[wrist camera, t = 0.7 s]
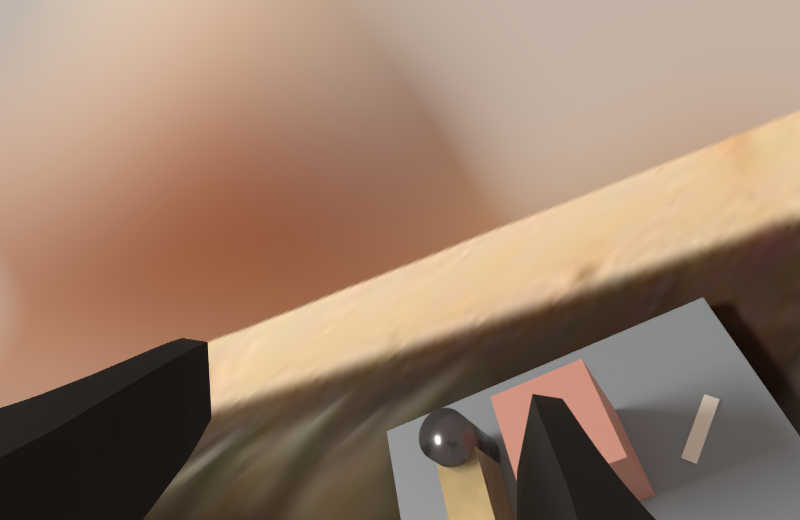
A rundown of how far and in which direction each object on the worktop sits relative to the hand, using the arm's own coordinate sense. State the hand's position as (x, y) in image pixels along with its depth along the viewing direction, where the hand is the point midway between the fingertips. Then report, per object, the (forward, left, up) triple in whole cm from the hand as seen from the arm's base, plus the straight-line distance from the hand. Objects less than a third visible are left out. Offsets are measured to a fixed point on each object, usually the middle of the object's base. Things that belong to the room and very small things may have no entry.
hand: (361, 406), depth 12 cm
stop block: (+3, -2, -17) cm, 17 cm away
